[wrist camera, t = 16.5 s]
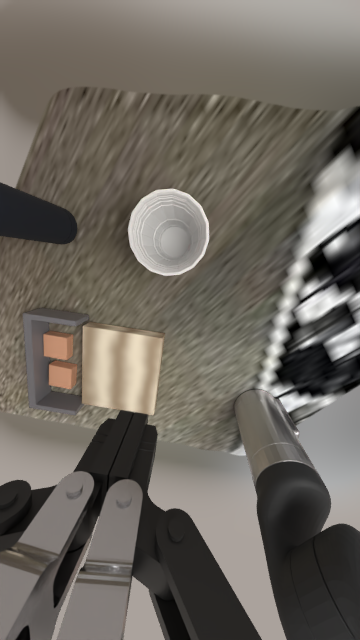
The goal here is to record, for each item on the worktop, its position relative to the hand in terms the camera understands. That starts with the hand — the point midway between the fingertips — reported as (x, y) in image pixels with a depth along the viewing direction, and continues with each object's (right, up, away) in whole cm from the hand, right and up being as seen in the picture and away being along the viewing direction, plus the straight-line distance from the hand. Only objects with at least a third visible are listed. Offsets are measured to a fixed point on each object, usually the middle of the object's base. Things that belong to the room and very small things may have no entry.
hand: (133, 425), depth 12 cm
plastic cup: (+2, +20, +28) cm, 34 cm away
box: (-23, -2, +36) cm, 42 cm away
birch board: (-10, -4, +35) cm, 37 cm away
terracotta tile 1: (-24, 0, +33) cm, 40 cm away
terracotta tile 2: (-24, -7, +35) cm, 42 cm away
